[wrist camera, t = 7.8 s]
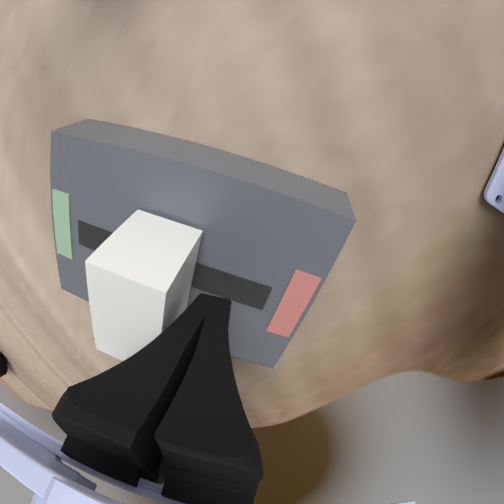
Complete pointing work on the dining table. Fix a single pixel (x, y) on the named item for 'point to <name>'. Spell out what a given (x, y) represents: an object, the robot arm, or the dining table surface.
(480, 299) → the dining table surface
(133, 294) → the breaker handle
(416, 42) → the dining table surface
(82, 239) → the breaker block
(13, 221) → the dining table surface
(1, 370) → the tape measure
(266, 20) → the dining table surface
